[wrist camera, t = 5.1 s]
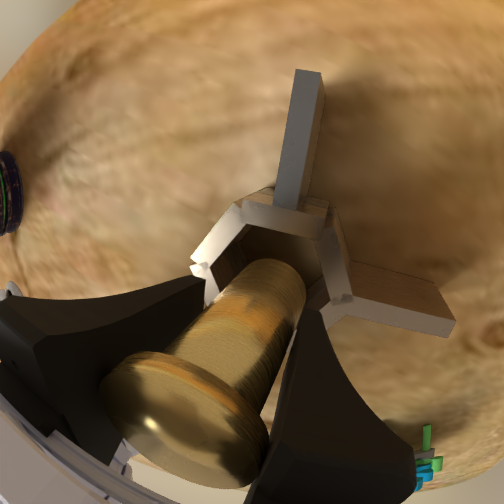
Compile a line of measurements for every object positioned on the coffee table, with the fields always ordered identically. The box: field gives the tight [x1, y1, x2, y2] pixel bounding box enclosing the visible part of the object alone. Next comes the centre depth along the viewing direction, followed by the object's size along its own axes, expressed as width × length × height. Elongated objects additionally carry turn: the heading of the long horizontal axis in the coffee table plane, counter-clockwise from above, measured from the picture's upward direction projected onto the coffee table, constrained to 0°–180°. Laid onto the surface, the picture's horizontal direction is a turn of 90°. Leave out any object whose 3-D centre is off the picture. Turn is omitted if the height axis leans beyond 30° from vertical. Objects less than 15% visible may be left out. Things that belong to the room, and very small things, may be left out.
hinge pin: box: [99, 259, 306, 489], centre depth 9 cm, size 4×4×8 cm
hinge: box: [190, 69, 456, 353], centre depth 14 cm, size 13×13×4 cm
